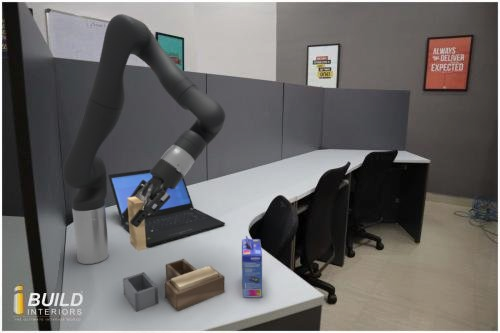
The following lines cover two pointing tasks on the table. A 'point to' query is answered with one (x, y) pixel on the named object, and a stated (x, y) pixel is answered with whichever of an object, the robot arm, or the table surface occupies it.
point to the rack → (194, 293)
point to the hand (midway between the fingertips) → (129, 221)
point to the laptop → (162, 210)
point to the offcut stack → (193, 278)
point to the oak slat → (135, 232)
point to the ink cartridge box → (252, 268)
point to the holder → (142, 297)
